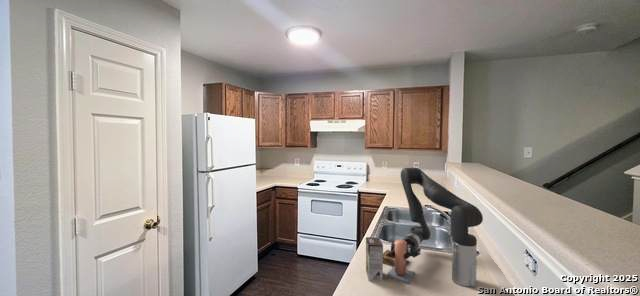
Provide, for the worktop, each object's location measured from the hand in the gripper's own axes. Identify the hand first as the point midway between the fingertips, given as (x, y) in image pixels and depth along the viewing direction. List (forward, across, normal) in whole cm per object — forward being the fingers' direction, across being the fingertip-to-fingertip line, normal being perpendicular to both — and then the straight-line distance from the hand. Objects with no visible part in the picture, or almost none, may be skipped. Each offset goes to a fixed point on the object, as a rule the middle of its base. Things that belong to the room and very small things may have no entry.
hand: (399, 255), depth 122 cm
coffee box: (+4, -10, +10) cm, 15 cm away
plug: (-2, 0, +8) cm, 9 cm away
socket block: (-15, -8, +10) cm, 20 cm away
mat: (-3, 0, +10) cm, 11 cm away
